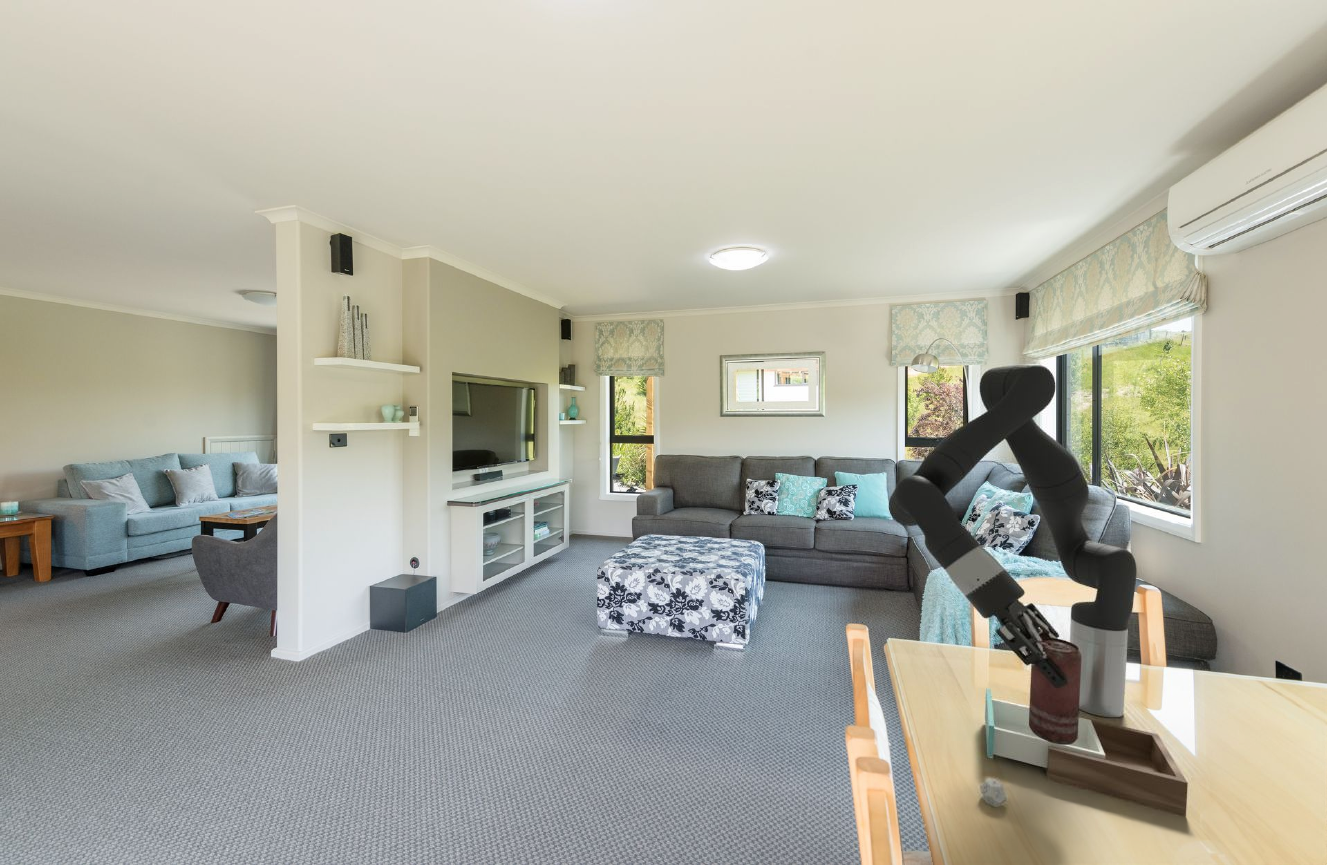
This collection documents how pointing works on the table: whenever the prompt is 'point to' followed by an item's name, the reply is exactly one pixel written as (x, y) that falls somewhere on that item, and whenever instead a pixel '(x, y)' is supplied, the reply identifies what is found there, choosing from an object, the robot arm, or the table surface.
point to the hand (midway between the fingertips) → (1067, 677)
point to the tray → (1029, 735)
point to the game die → (993, 792)
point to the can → (1056, 695)
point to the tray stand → (1124, 769)
